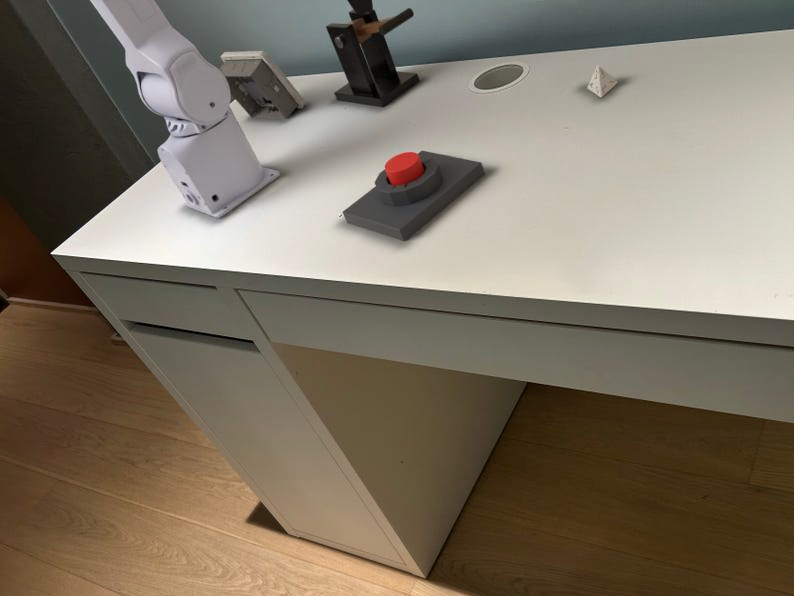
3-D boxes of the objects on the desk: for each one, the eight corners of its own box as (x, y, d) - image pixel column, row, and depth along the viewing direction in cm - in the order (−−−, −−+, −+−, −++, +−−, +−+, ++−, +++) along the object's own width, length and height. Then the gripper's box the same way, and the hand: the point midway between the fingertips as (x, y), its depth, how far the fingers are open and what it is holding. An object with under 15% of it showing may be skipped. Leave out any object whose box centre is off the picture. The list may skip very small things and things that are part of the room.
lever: (417, 21, 87) (409, 1, 86) (389, 40, 85) (379, 20, 84) (367, 34, 95) (359, 15, 94) (340, 51, 93) (330, 33, 92)
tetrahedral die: (599, 89, 82) (588, 64, 81) (618, 82, 80) (607, 57, 79) (582, 104, 81) (571, 79, 80) (601, 97, 79) (589, 72, 77)
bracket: (420, 81, 96) (394, 6, 89) (383, 108, 93) (354, 31, 86) (373, 76, 102) (346, 5, 96) (337, 100, 99) (306, 29, 93)
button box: (404, 241, 69) (393, 215, 67) (347, 223, 74) (335, 198, 72) (485, 174, 74) (477, 147, 72) (425, 161, 79) (416, 136, 77)
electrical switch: (309, 106, 101) (274, 43, 94) (286, 128, 98) (248, 66, 92) (266, 104, 106) (230, 45, 99) (243, 126, 104) (205, 66, 97)
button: (407, 189, 70) (400, 174, 69) (383, 183, 73) (377, 168, 71) (431, 170, 72) (426, 154, 71) (407, 164, 74) (402, 149, 73)
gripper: (346, -116, 77) (394, 10, 87) (354, -145, 87) (397, -29, 97) (286, -92, 78) (340, 30, 88) (301, -124, 89) (348, -11, 98)
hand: (367, 0), depth 92 cm, fingers open, 7 cm apart
